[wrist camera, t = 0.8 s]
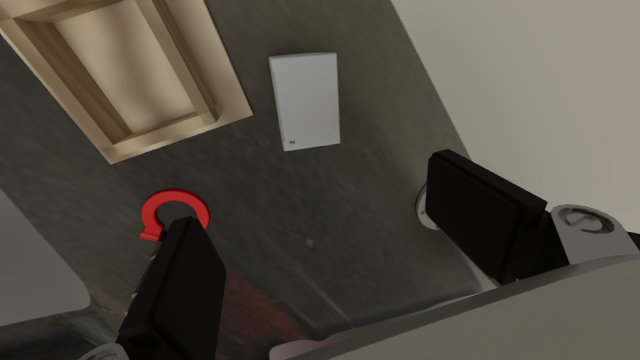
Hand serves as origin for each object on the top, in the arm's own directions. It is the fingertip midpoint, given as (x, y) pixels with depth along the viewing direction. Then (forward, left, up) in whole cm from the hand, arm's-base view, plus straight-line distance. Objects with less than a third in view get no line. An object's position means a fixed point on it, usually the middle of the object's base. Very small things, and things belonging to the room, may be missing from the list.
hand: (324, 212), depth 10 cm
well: (+13, -8, -24) cm, 28 cm away
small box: (-2, -1, -24) cm, 24 cm away
